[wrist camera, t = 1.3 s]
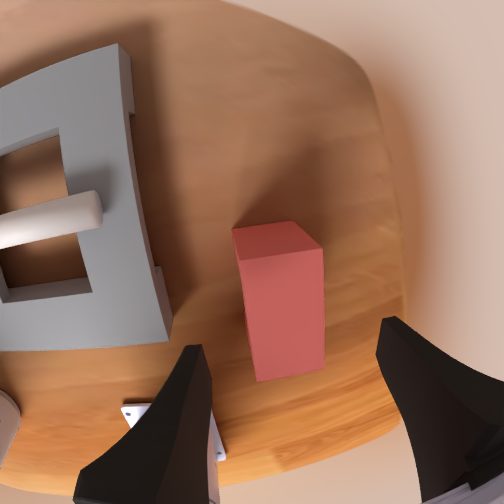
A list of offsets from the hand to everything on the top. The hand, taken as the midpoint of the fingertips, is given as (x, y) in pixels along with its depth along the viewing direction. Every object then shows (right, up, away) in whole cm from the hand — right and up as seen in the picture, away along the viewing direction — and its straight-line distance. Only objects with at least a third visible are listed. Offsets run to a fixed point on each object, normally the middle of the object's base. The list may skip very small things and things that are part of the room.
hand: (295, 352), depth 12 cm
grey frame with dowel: (-16, +6, +6) cm, 19 cm away
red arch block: (-1, +2, +10) cm, 10 cm away
